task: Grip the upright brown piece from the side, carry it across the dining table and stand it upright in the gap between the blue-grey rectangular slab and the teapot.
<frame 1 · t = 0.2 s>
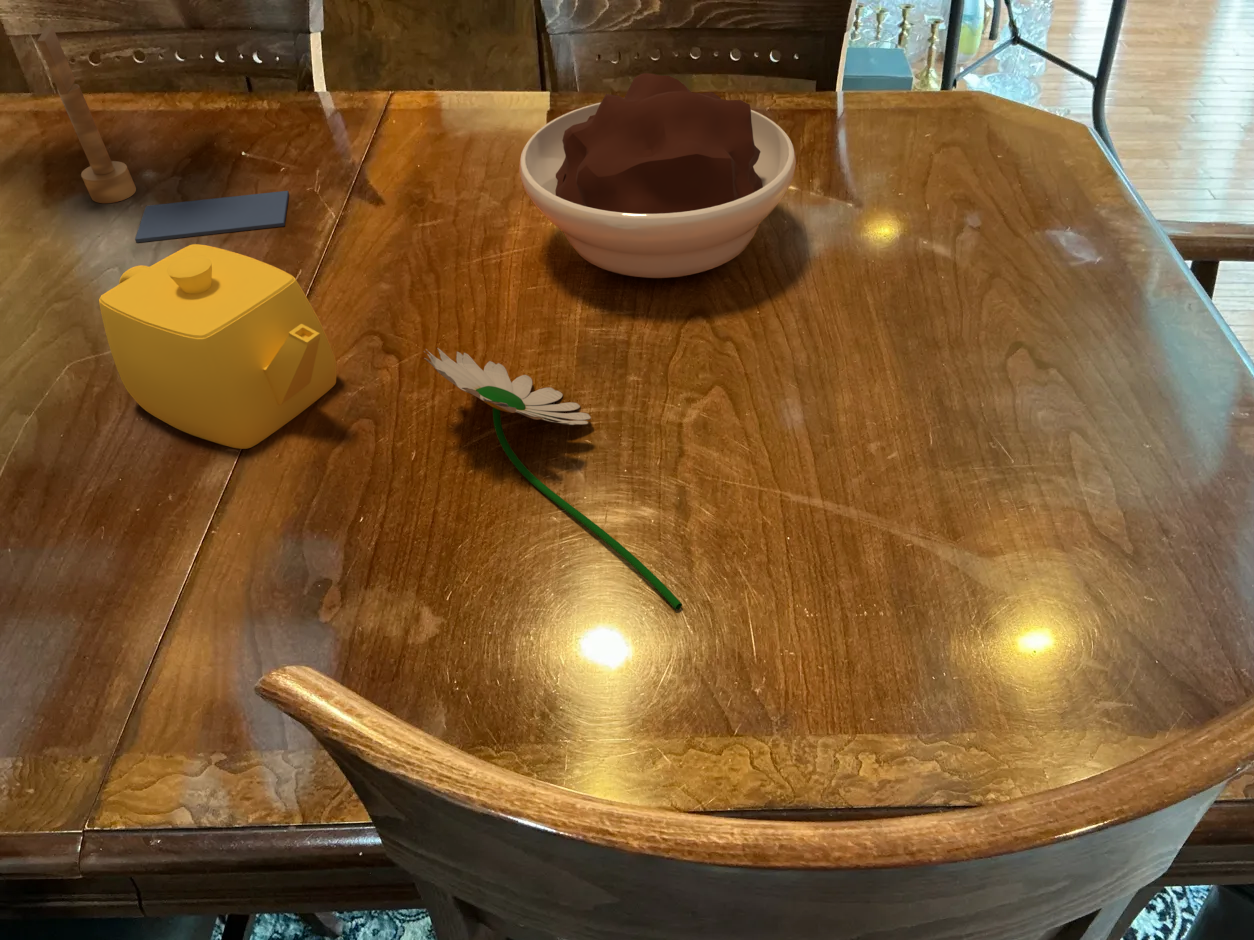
teapot: (248, 398, 87), on the table
brown piece: (113, 193, 112), on the table
bowl of brown chunks: (662, 247, 104), on the table
blue-grey rectangular slab: (215, 217, 108), on the table
flower: (554, 492, 79), on the table
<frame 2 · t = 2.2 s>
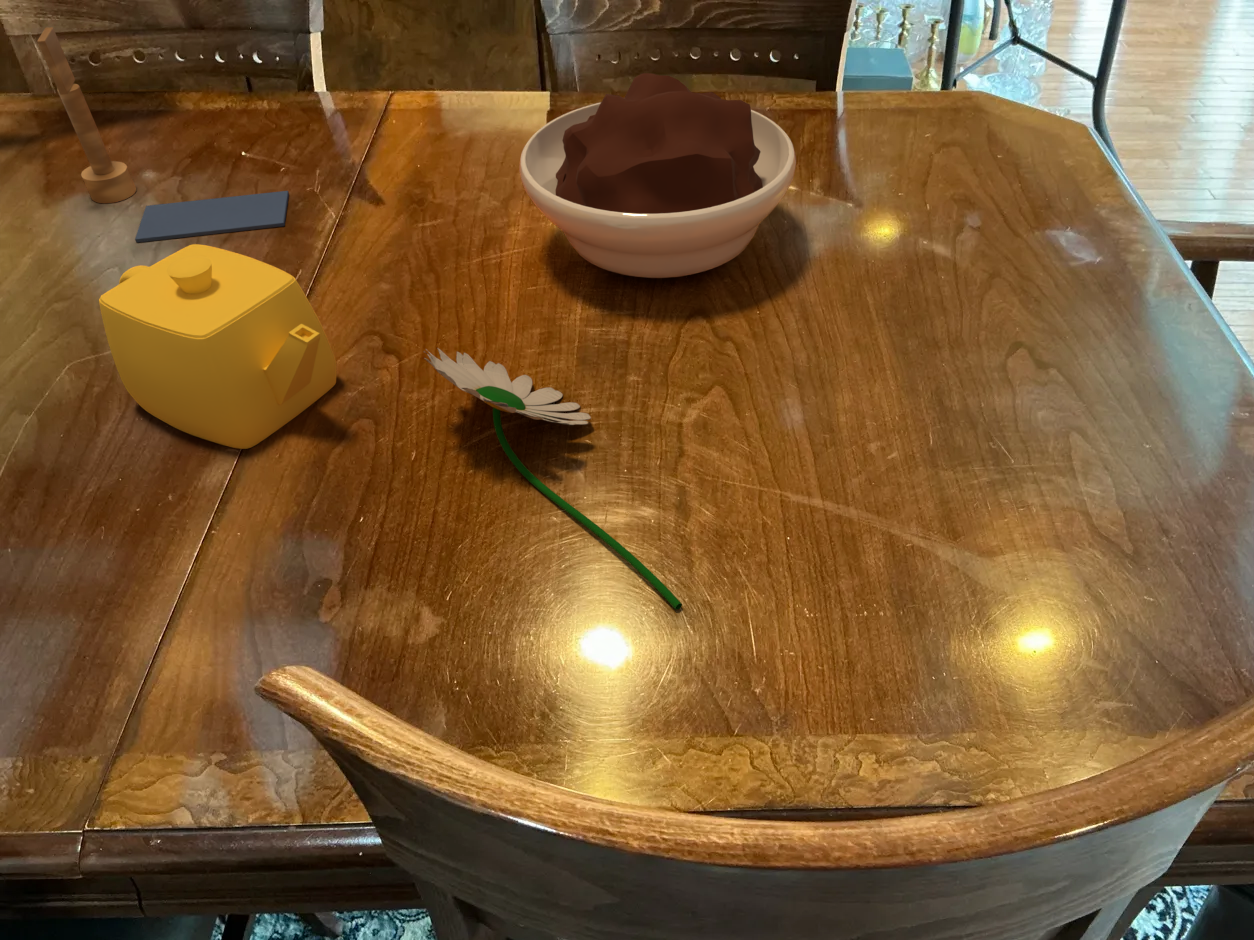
nothing on the table moved.
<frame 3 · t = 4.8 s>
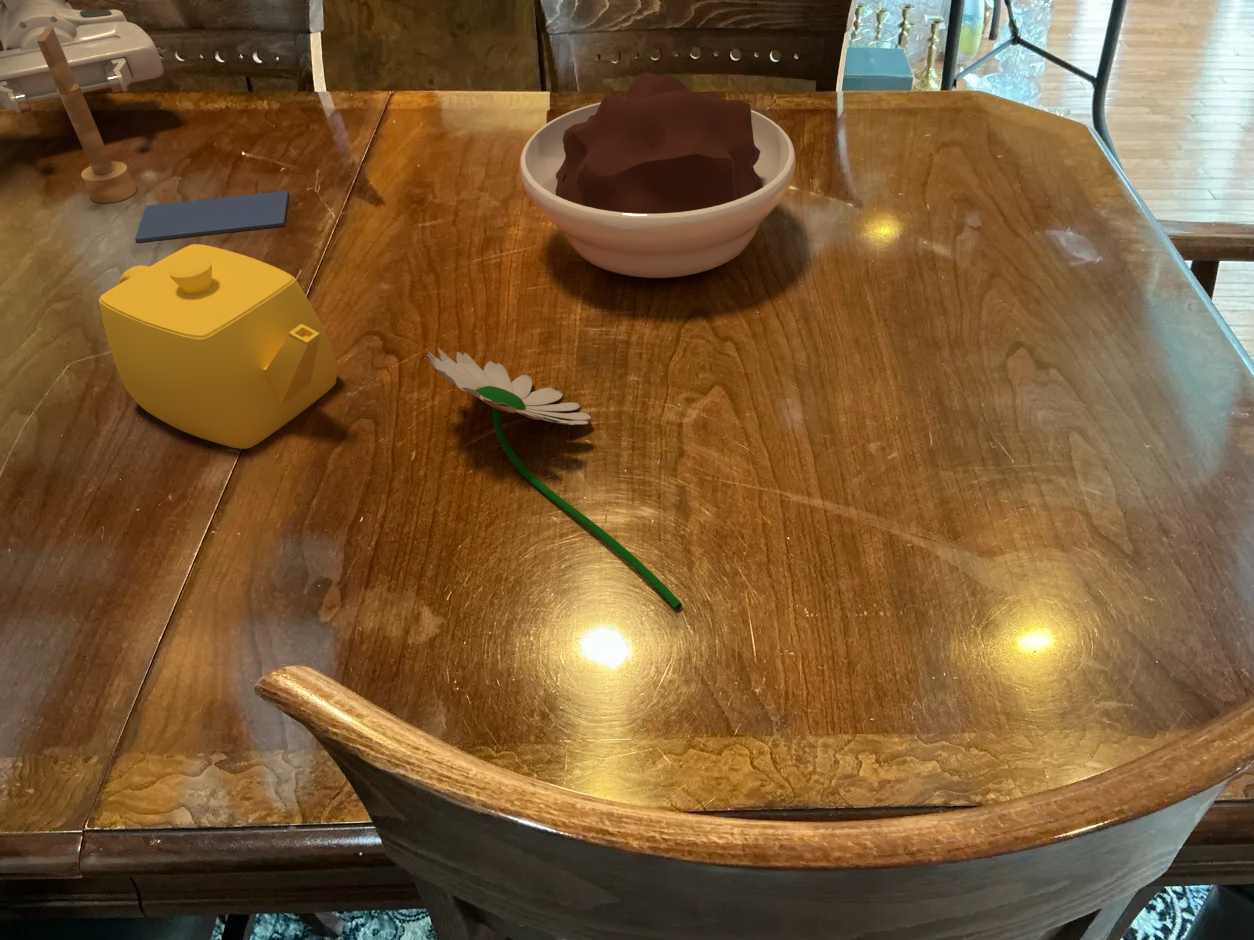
hand: (70, 95, 112), 8 cm above the table, tool horizontal, fingers open, 8 cm apart
nothing on the table moved.
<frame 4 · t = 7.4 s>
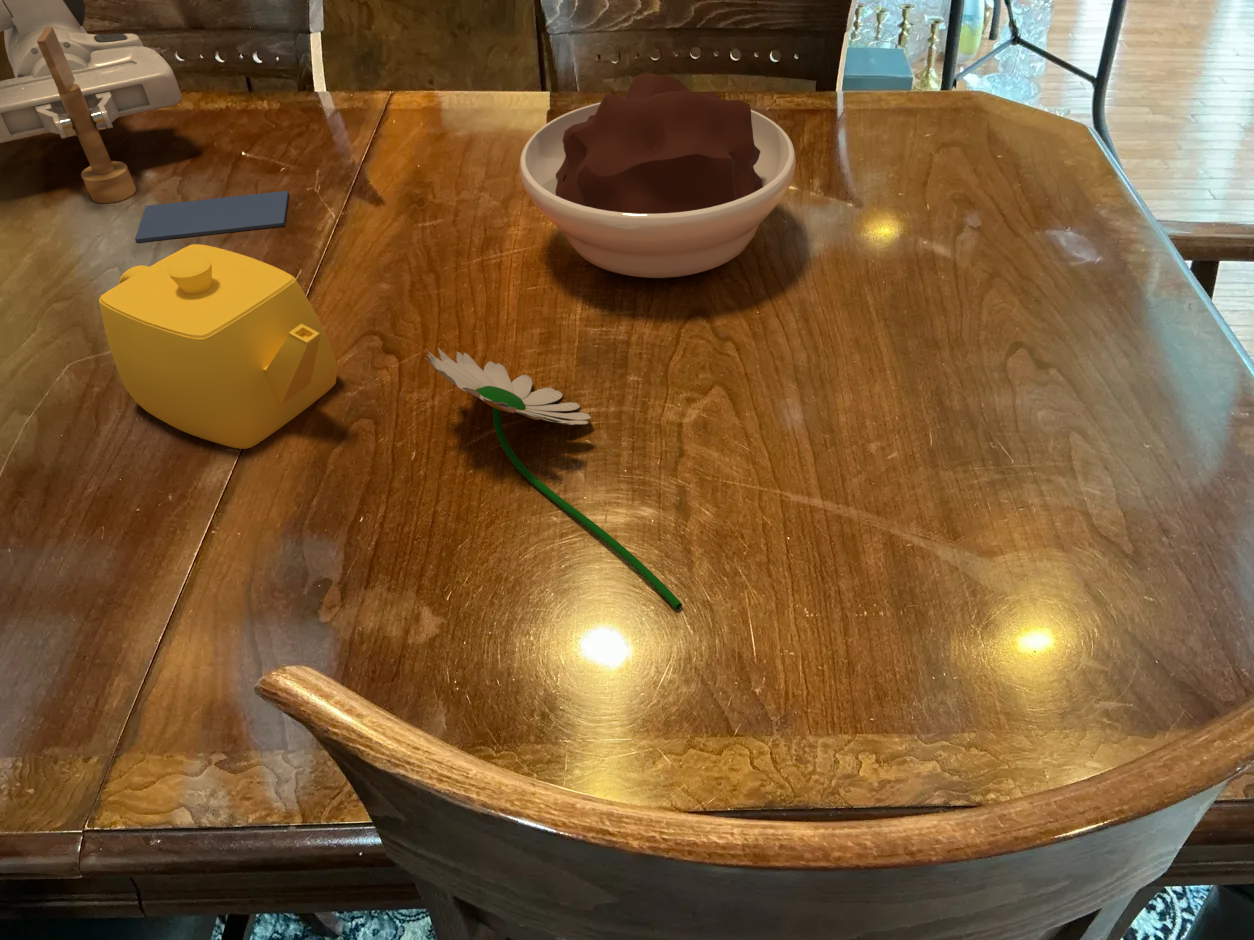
hand: (84, 125, 107), 8 cm above the table, tool horizontal, fingers closed on brown piece, 2 cm apart
brown piece: (113, 193, 112), on the table, touching gripper
everything else where it was.
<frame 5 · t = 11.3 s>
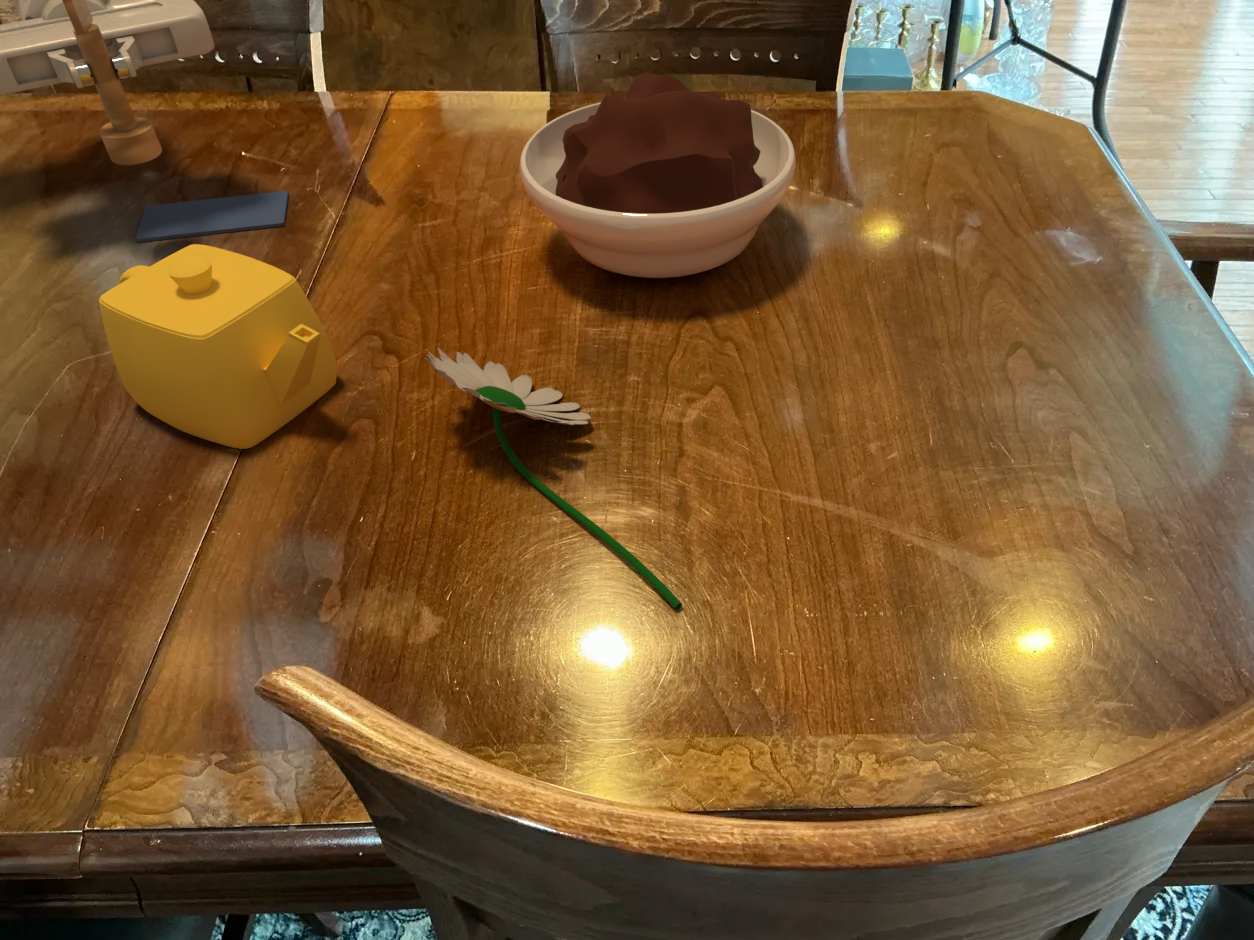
hand: (104, 73, 92), 17 cm above the table, tool horizontal, fingers closed on brown piece
brown piece: (136, 154, 98), point 9 cm above the table, touching gripper
everything else where it was.
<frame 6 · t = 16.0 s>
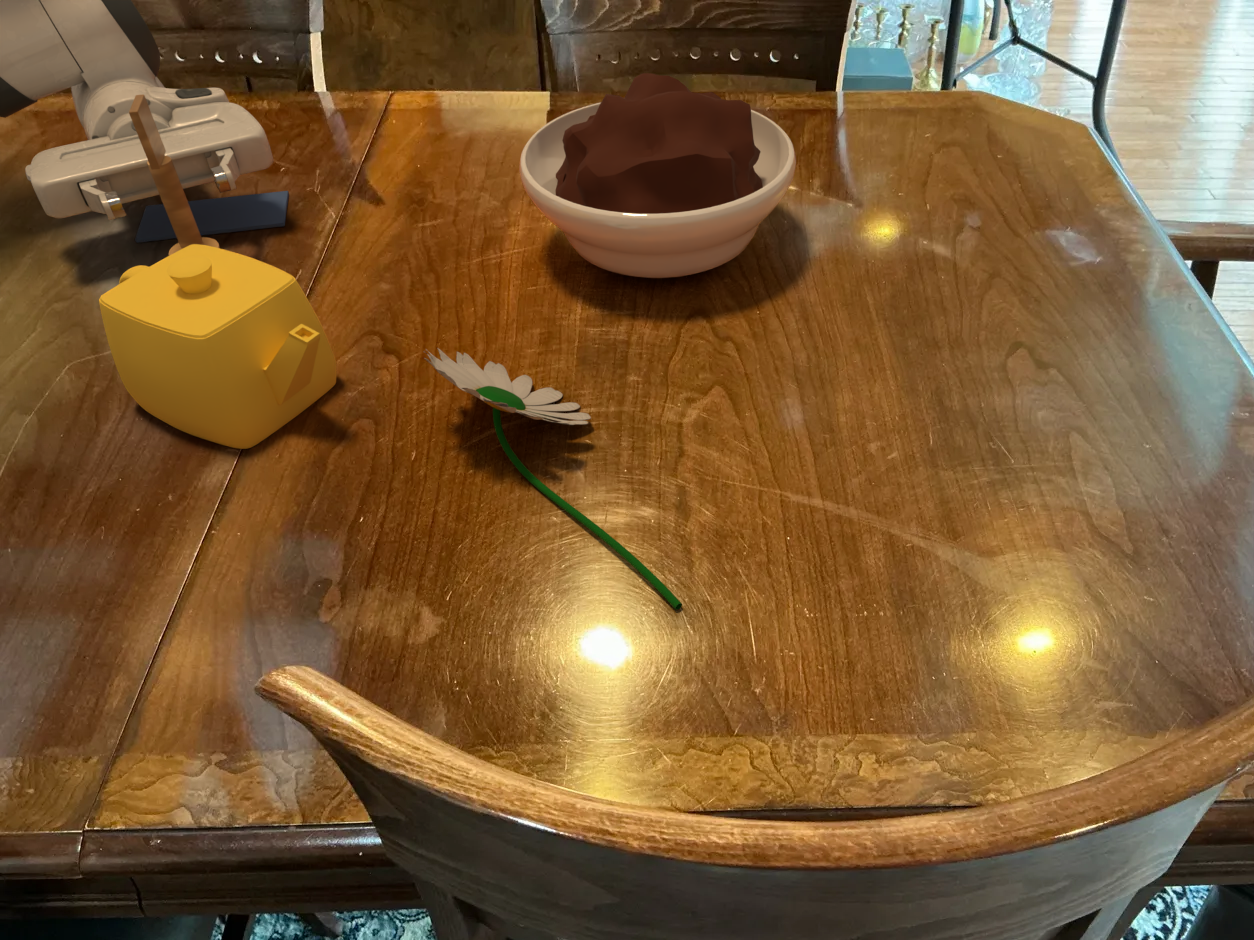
hand: (171, 196, 95), 8 cm above the table, tool horizontal, fingers open, 8 cm apart
brown piece: (203, 272, 101), on the table
everything else where it was.
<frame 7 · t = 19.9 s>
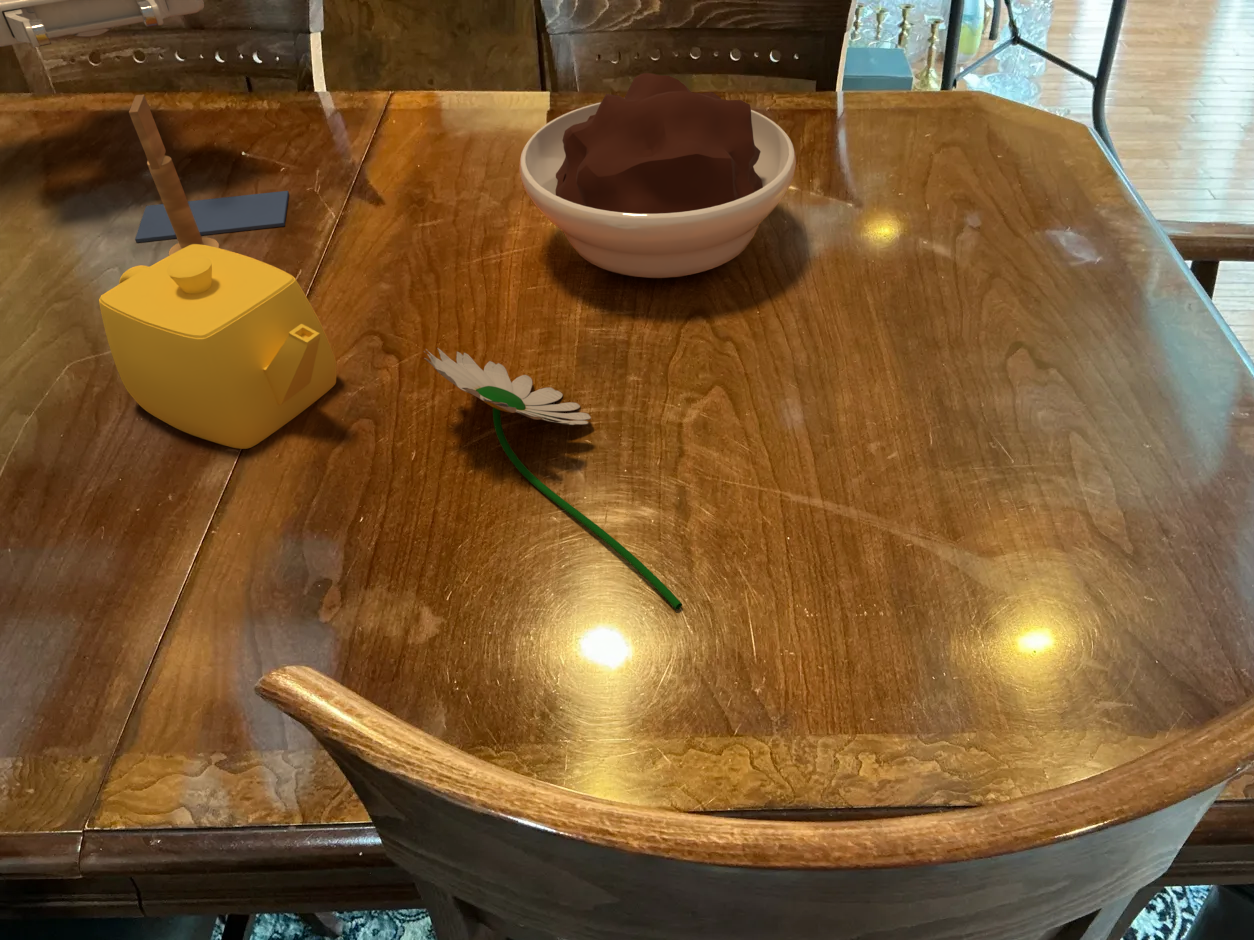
hand: (96, 26, 95), 19 cm above the table, tool horizontal, fingers open, 8 cm apart
nothing on the table moved.
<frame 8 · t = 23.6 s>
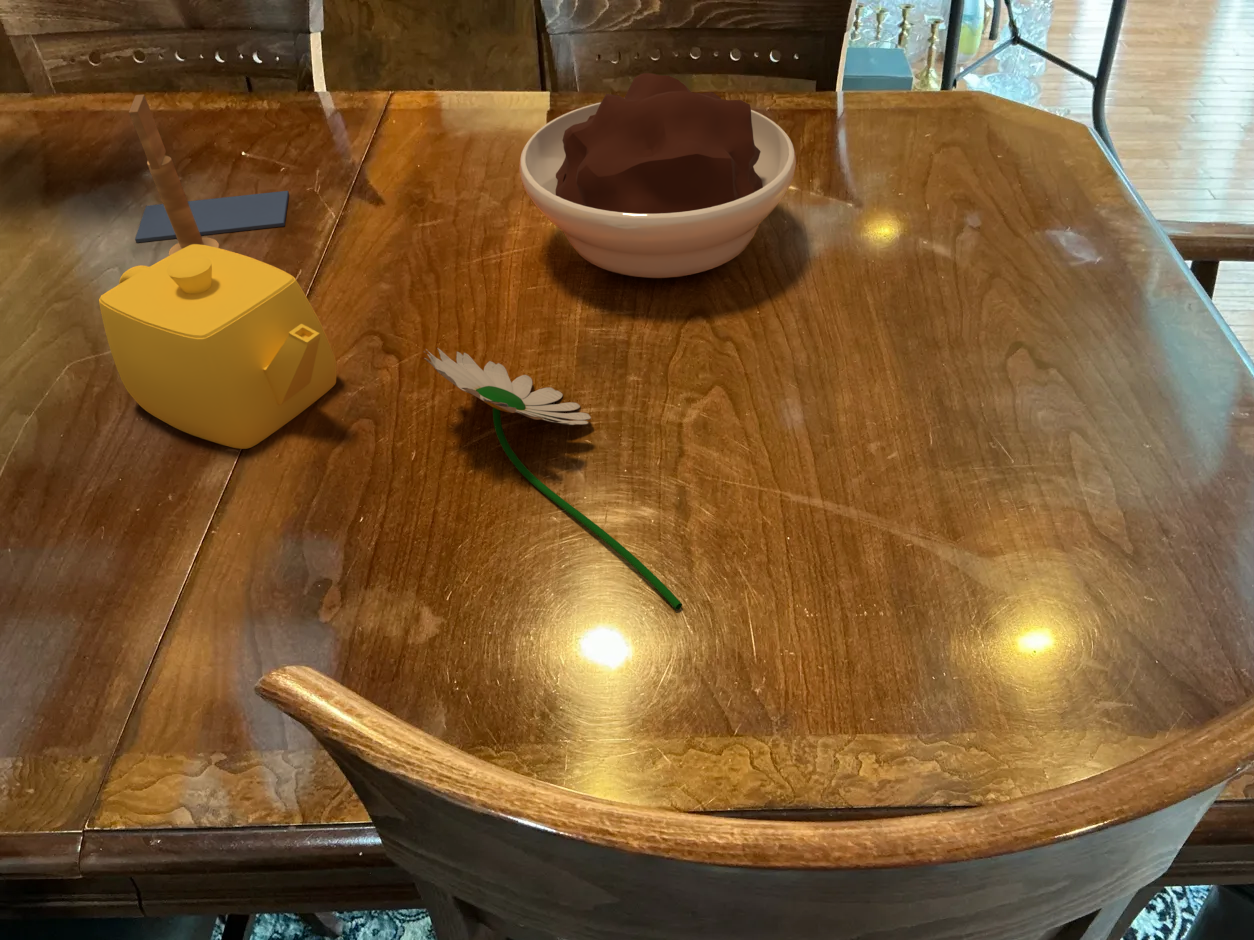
nothing on the table moved.
at the end: brown piece inside the target area on the table beside the teapot (0.6 cm from its centre), on the table; brown piece tilted 0°; the gripper is holding nothing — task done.
